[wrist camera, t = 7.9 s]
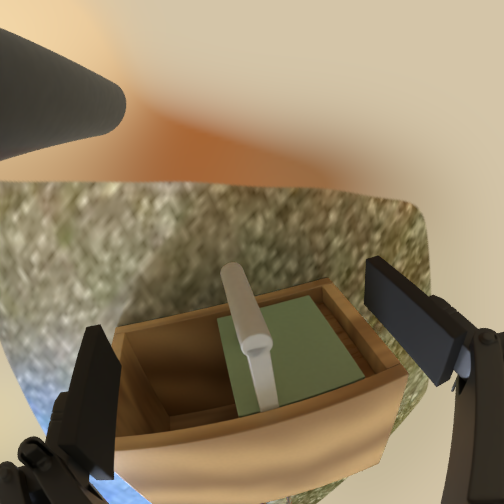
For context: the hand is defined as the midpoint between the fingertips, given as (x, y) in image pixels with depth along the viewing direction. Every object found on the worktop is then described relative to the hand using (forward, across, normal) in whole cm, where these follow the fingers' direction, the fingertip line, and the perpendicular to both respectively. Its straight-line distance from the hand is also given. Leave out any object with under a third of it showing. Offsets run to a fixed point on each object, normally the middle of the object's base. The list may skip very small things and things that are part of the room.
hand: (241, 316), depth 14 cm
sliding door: (+8, +2, -3) cm, 9 cm away
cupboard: (+9, -1, -12) cm, 15 cm away
